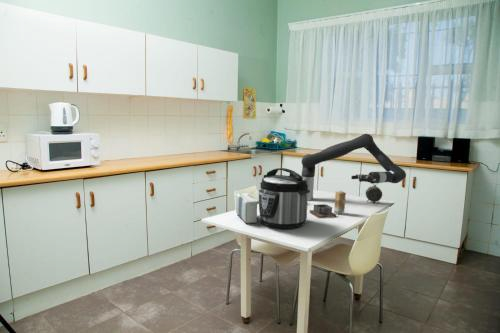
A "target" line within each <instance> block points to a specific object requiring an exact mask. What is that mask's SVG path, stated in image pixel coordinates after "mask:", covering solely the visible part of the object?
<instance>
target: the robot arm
mask: <svg viewBox="0 0 500 333" xmlns="http://www.w3.org/2000/svg"><path fill="white" fill-rule="evenodd" d="M362 148H363V149H365V150H367V152H369V153H370V154H371V155H372V157H373V158H374V159H375V160H376V161H377V162H378V163H379V164H380V166H381V167H382V168H383V169H384V170H385V171H370V172H369V173H367V174H364V173H363V174H362V173H360V174H355V175H351V180H358V182H360V183H362V182H365V183H366V182H367V183H370V184H372V185H373V184H377V183H378V184H383V183H391V184H398V183H400V182H401V181H403V180H405V178H406V177H407V172H406V171H405V170H404V169H403V168H402V167H400V166H399V165H397V164H396V163H394V162H393V161H392V160H391V158H390V157H388V155H386V154H385V153H384V152H383V151H382V150H381V149H380V148H379V147H378V145H377V144H376V143H375V141H374V138H373V136H372V135H371V134H369V133H363V134H361V135H358V136H357V137H355V138H352V139H351V140H347V141H343V142H340V143H337V144H334V145H331V146H329V147H326V148H324V149H323V150H321V151H319V152H316V153H312V154H310V153H307V154H305V155H304V156H303V157H301V158H302V159H301V166H302V170H301V176H302V177H303V179H305V180H307V185H308V190H310V193H308V198H307V202H308V201H313V200H314V184H315V183H314V182H315V174H316V173H315V172H316V171H315V170H316V166H317V165H318V164H321V163H323V162H327V161H331V160H335V159H338V158H340V157H344V156H345V155H348V154H349V153H351V152H353V151H355V150H358V149H362Z"/></svg>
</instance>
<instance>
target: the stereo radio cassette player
mask: <svg viewBox="0 0 500 333" xmlns="http://www.w3.org/2000/svg"><path fill="white" fill-rule="evenodd" d="M255 191H256V189H254V190H253V191H252V192H251V193H247V192H246V193H237V194H236V195H235V213H236V214H237V215H238V216H239V217H240V219H242V220H243V223H245V224H252V223H253V224H254V223H257V218H258V205H259V199H257V198H255V197H254V196H252V194H253V193H254V192H255Z"/></svg>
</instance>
